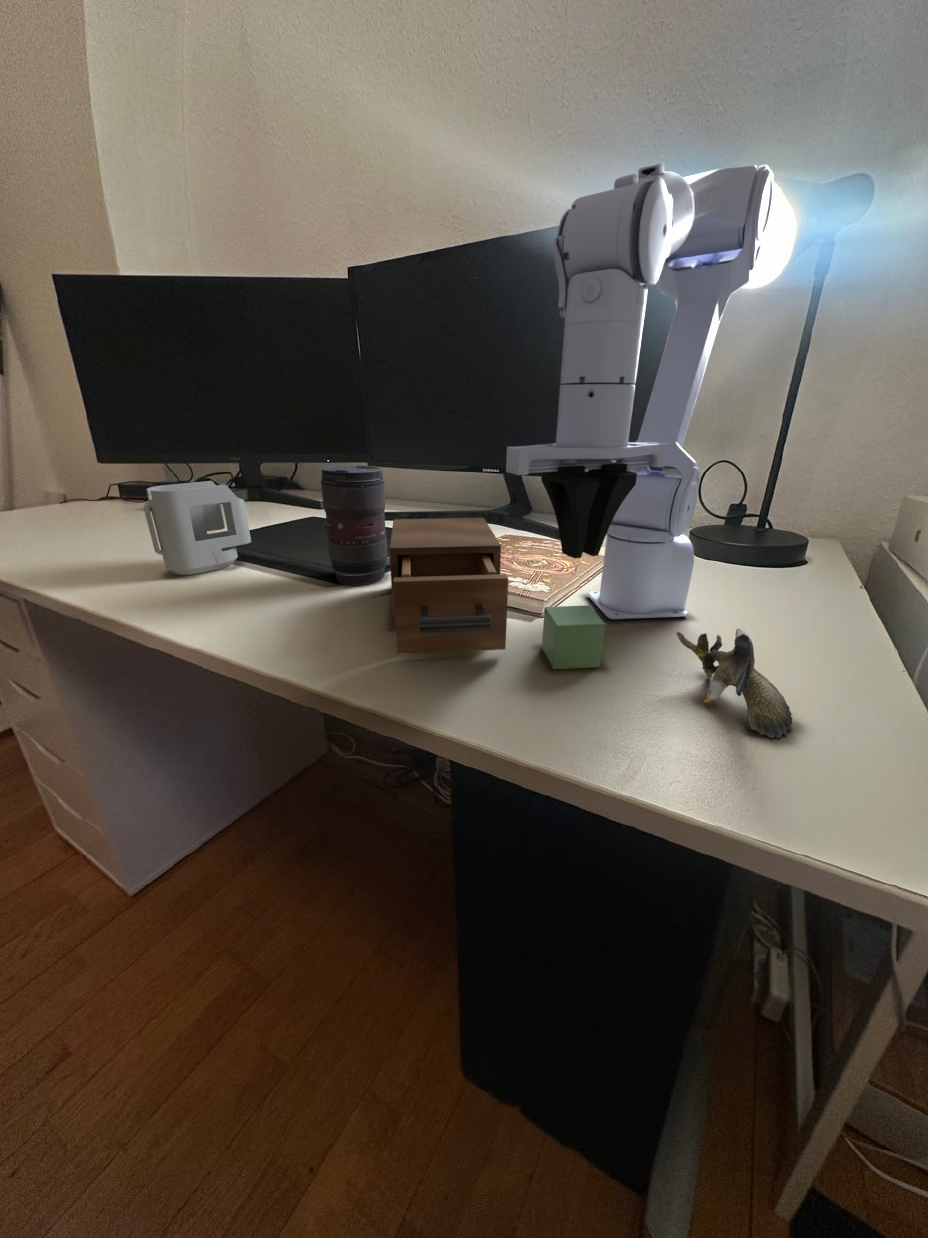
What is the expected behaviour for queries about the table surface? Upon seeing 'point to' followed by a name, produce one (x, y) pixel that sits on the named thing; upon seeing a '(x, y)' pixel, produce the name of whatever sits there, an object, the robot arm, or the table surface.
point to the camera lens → (355, 522)
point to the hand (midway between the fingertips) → (580, 554)
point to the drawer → (450, 604)
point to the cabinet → (440, 541)
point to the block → (572, 637)
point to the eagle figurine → (743, 682)
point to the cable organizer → (196, 526)
